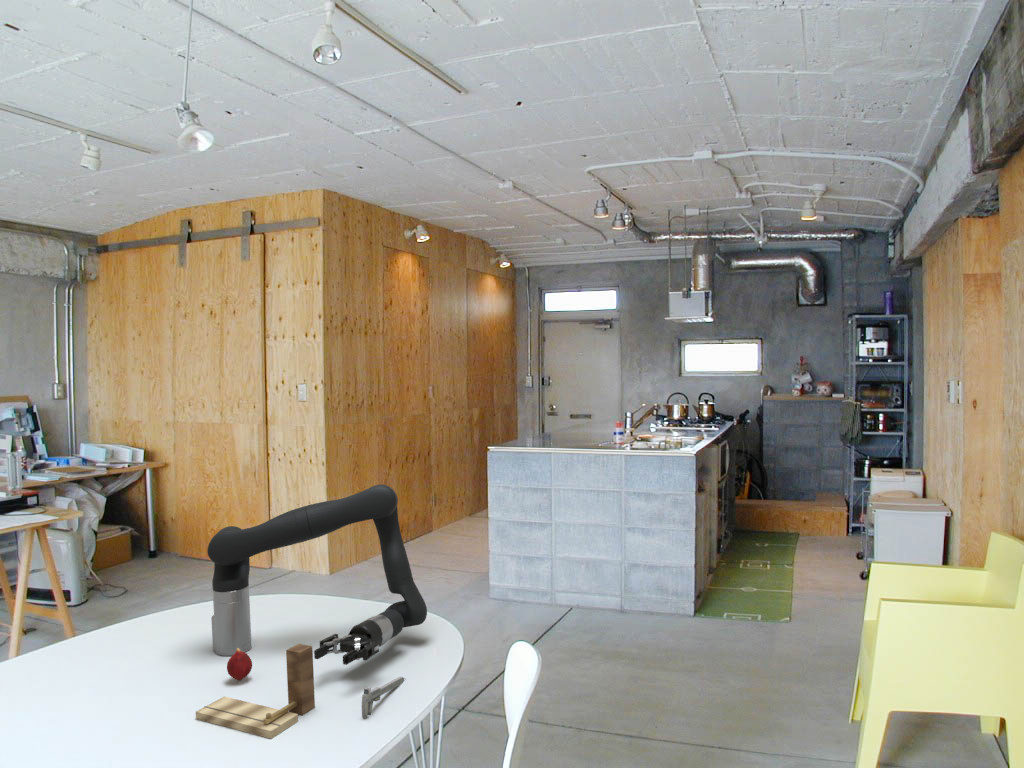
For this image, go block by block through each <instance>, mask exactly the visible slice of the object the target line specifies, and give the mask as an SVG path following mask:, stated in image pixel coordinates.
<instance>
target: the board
mask: <svg viewBox="0 0 1024 768" xmlns="http://www.w3.org/2000/svg"><path fill="white" fill-rule="evenodd" d="M278 710H280V709H279V708H275V707H270V706H266V705H262V704H258V703H253V702H250V701H249V702H248V701H244V700H241V699H237V698H232V697H229V696H221V697H220V698H218V699H217V700H215V701H212V702H211V703H210V704H207V705H206V706H205V705H204V706H203V707H202V708H200V709H198V710H196V711H195V720H197V721H198V720H200V721H202V722H206V723H211V724H214V725H218V726H220V727H225V728H229V729H232V730H233V729H234V730H237V731H241V732H245V733H248V734H252V735H256V736H260V737H264V738H267V739H273V738H275V737H276V736H278V735H279V734H281V733H282V732H283V731H286V730H287V729H289V728H291V727H292V726H293V725H295V724H297V723H298V722H299V714H296V713H291V712H289V711H288V712H286V713H284V714H283V715H281V716H279V717H278V718H276V719H275V720H273V721H271V722H270V723H268V724H265V723H264V721H263V719H265V718H266V714H267V713H271V715H272V714H273V713H275V712H277V711H278Z"/></svg>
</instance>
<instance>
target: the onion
mask: <svg viewBox="0 0 1024 768" xmlns="http://www.w3.org/2000/svg"><path fill="white" fill-rule="evenodd" d="M252 669H253V661H252V659H251V657H250V655H249V654H248V653H246V652H242V651H241V650H240V649H239V648H237V650H236V653H235V654H234V655H231V656H230V658H229V659H228V661H227V663H226V671H227V674H228V675H229V676H230V677H231V678H232V679H234V680H236V681H238V682H241V681H243V680H244V679H245V678H247V676H249V674H250V673H251V671H252Z"/></svg>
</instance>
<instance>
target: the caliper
mask: <svg viewBox="0 0 1024 768" xmlns="http://www.w3.org/2000/svg"><path fill="white" fill-rule="evenodd" d="M404 679H405V680H406V678H405V677H404V676H398V677H396V678H394V679H393V680H391V681H388V682H387V683H385V684H383V685H381V686H376V687H374V688H372V689H371V687H369V686H368V687H367V686H366V688H364V689H363V694H362V696H361V717H362V718H363V719H368V716H371V715H372V711H373V705H374V702H378V701H380V700H381V696H382V695H385V694H386V693H388V692H390V691H392V690H394V689H395V688H397V687H399V686H400V684H401V685H402V684H403V683H404V681H405V680H404ZM403 680H404V681H403Z"/></svg>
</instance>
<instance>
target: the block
mask: <svg viewBox="0 0 1024 768" xmlns="http://www.w3.org/2000/svg"><path fill="white" fill-rule="evenodd" d="M285 652H286V653H285V657H286V659H285V660H286V673H287V674H286V681H287V699H288V700H287V701H288V703H287V705H285V706H283V707H281V708H280V709H279V710H278V711H277V712H275V713H273V714H272V715H271V713H267V714H266V718H265V719H263V721H264V723H265V724H268V723H270V722H271V721H273V720H275V719H276V718H278V717H279V716H281V715H283V714H284V713H286V712H291V713H296V714H298V716H299V715H300V716H304V715H306V714H307V713H308V712H310V711H312V710H313V709H315V708H316V704H315V703H316V702H315V701H316V700H315V699H316V698H315V678H314V651H313V646H312V645H308V644H302V643H297V644H295V645H293V646H291V647H289V648H287V649H286V650H285Z"/></svg>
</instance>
